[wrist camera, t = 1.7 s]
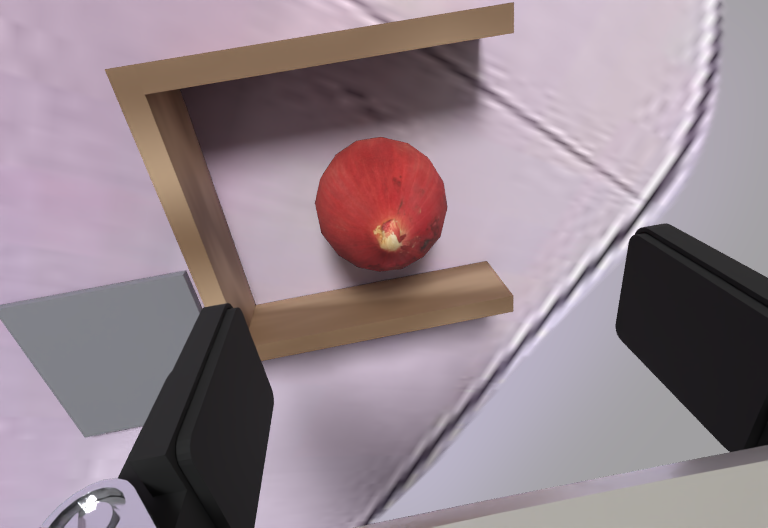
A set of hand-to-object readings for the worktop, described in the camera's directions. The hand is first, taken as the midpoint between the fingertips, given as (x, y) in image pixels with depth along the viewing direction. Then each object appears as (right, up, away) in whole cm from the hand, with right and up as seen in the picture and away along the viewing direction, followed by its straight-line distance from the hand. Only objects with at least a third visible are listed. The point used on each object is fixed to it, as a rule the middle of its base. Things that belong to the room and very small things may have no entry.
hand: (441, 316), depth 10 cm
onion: (-2, +6, +12) cm, 14 cm away
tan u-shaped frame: (-3, +5, +12) cm, 13 cm away
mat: (-17, -4, +15) cm, 23 cm away
